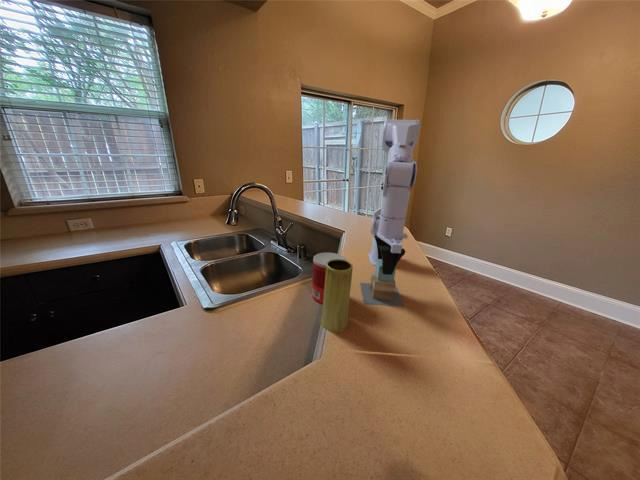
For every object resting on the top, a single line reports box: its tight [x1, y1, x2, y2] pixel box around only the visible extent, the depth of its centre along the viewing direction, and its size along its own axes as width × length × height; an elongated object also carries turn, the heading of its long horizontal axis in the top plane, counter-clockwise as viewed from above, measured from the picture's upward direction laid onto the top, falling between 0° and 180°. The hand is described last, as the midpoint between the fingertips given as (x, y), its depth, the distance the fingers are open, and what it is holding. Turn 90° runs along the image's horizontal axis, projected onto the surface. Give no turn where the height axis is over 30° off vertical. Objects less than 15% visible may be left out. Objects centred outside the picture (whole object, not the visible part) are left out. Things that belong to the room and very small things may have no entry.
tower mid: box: [370, 271, 396, 291], centre depth 64 cm, size 5×5×2 cm
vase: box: [320, 259, 354, 333], centre depth 51 cm, size 6×6×14 cm
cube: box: [374, 259, 397, 282], centre depth 63 cm, size 4×4×4 cm
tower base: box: [370, 281, 394, 300], centre depth 65 cm, size 5×5×2 cm
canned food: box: [311, 252, 347, 306], centre depth 61 cm, size 8×8×11 cm
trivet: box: [359, 282, 406, 308], centre depth 65 cm, size 10×10×1 cm
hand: (384, 268), depth 62 cm, fingers open, 5 cm apart
